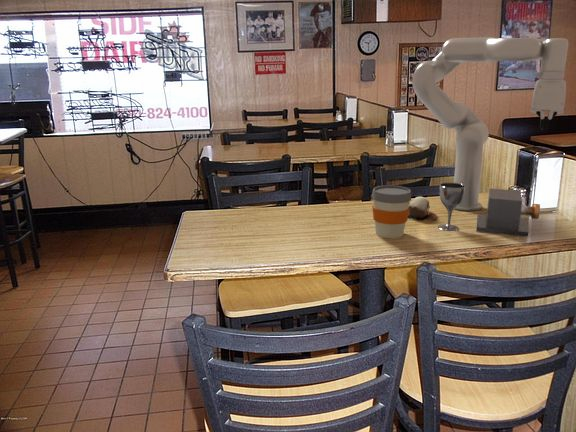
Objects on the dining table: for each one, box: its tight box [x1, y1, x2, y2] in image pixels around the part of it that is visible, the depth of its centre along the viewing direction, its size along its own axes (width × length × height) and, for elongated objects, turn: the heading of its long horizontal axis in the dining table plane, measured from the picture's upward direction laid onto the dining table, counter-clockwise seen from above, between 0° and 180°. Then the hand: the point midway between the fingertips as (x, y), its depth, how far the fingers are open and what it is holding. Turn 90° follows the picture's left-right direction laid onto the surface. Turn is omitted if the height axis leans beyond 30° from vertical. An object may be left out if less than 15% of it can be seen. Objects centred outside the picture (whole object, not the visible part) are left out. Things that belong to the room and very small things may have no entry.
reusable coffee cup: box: [371, 184, 412, 239], centre depth 177 cm, size 13×12×15 cm
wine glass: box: [437, 181, 465, 232], centre depth 183 cm, size 8×8×15 cm
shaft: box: [486, 203, 541, 220], centre depth 183 cm, size 16×5×5 cm, turn 70°
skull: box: [408, 196, 438, 222], centre depth 197 cm, size 12×10×10 cm
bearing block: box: [475, 188, 530, 238], centre depth 184 cm, size 16×16×12 cm
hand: (544, 130), depth 189 cm, fingers closed
